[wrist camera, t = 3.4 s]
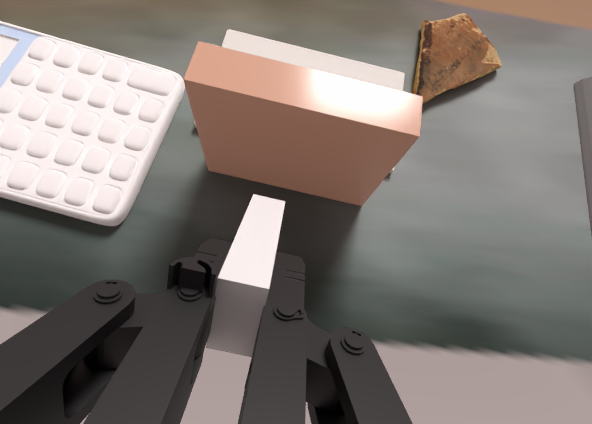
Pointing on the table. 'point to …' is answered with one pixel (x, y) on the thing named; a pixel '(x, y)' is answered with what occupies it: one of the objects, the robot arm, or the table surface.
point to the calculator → (79, 124)
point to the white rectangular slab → (313, 60)
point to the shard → (452, 56)
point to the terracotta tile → (297, 124)
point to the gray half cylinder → (585, 133)
